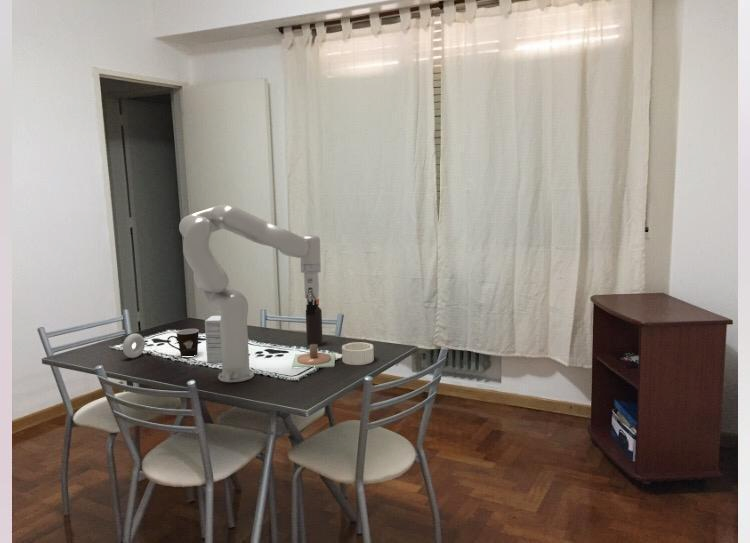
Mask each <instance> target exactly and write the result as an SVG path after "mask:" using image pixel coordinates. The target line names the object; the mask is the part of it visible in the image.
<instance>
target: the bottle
mask: <svg viewBox="0 0 750 543" xmlns="http://www.w3.org/2000/svg"><path fill="white" fill-rule="evenodd" d="M314 300H316V310H315V315H307V311H306V310H305V326H306V327H305V328H306V331H305V332H306V345H307V346H309V347H310V344H317V347H319V346H322V345H323V344H324V343H323V342H324V341H323V339H324V338H323V317H322V314H323V313H322V309H321V307H319V305H320V298H319V297H318V298H317V299H314Z"/></svg>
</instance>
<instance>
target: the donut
mask: <svg viewBox="0 0 750 543" xmlns="http://www.w3.org/2000/svg"><path fill="white" fill-rule="evenodd" d="M133 344H135V348H133ZM145 346H146V343H145V339H144V337H143V336H142V335H141V334H140V333H131V334H129V335H127V337H125V339H124V340H123V344H122V353H123V354H124V355H125V356H126V358H127V357H128V358H130V359H136V358H138V357H139V356H141V355H142V354H143V352H144V351H145Z"/></svg>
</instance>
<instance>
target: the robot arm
mask: <svg viewBox="0 0 750 543" xmlns="http://www.w3.org/2000/svg"><path fill="white" fill-rule="evenodd" d="M178 229H179V232H180V234H181V236H182V237H184V238H183V242H182V243H183V244H182V253H183V256H184V258H185V260H186V262H187V263H188V266H189V267H190V268H191V270H192V272H193V280H194V283H195V285H196V288H198V290H199V292H200V293H201V294H202V295H203V297H204V298H205V300H206V301H207V302H208V304H209V305H210V306H211V308H213V310H214V311H216V312H218V313H220V316H221V319H220V340H221V356H222V362H221V368H222V369H221V370H222V372H220V373H219V374H218V375H217V378H218V380H219V381H220V382H224V383H240V382H245V381H248V380H252V378H254V377H255V372H254V370H252V369H250V367H251V366H250V350H249V334H248V332H249V331H248V315H249V302H248V300H247V298H246V296H245V295H244V294H243V293H242V292H240V291H238V290H235V289H234V288H233V289H232V288H231V287H230V285H229V282H230V281H229V275H228V274H227V272H226V270H225V269H224V268H223V267H222V265H221V264H220V263H219V261H218V260H217V258H216V257H215V255H214V254H213V251H212V250H211V248H210V239H211V236H212V233H214V232H217V231H219V230H222V229H224V230H227V231H229V232H231V233H233V234H235V235H238V236H240V237H242V238H245V239H246V240H249V241H251V242H253V243H256V244H260V245H262V246H267V247H270V248H271V247H272V248H274V249H277V250H278V251H279V252H280V253H281V254H283V255H284V256H288V257H292V258H297V259H299V258H300V273H302V274H303V282H304V283H303V286H304V287H303V289H304V297H305V299H306V305H305V307H306V309H305V312H306V311H307V315H315V310H316V300H314V299H317V298H319V296H320V288H319V287H320V284H319V283H320V282H319V281H320V280H319V273H321V272H322V271H321V239H320V236H319V235H311V234H310V235H307V234H306V235H303V236H301V235H298V234H296V233H294V232H291V231H289V230H287V229H285V228H282V227H280V226H277V225H275V224H273V223H272V222H269V221H266V220H264V219H262V218H259V217H257V216H256V215H253V214H251V213H249V212H247V211H245V210H243V209H241V208H239V207H236V206H234V205H231V204H219V205H216V206H212V207H209V208H207V209H204V210H200V211H198V212H197V211H196V212H194V213H191V214H189V215H185V216H184V217H183V218H182V219H181V220H180V222H179V226H178Z"/></svg>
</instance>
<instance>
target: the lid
mask: <svg viewBox="0 0 750 543" xmlns="http://www.w3.org/2000/svg"><path fill="white" fill-rule="evenodd" d="M318 349H319V348H318V346H317V344H310V346H309V352H308V353H302V354H303V355H300V356H298V357H297V362H298V363H301V364H305V365H317V364H323V363H326V362H329V361H330V360H331V356H330V355H328V354H325V353H326V352H325V353H324V352H319V350H318Z"/></svg>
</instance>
